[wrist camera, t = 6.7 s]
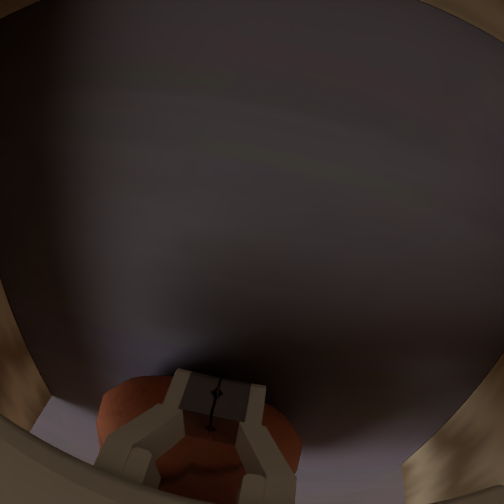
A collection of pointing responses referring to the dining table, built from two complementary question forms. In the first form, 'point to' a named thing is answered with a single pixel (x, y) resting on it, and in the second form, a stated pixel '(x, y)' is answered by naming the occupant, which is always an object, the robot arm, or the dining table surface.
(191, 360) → the dining table surface
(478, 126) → the dining table surface
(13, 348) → the open wooden planter box
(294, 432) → the potted flower
